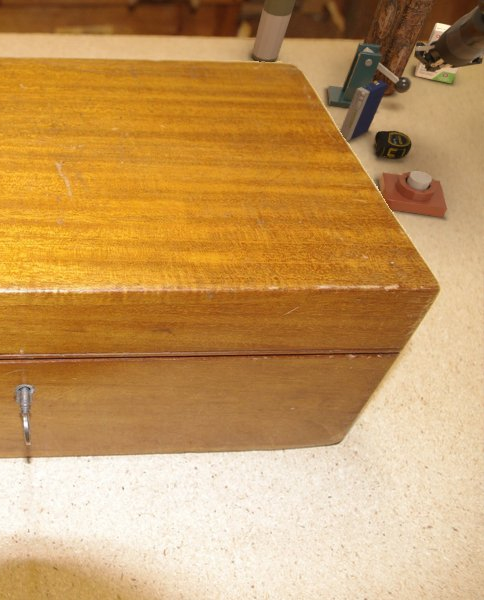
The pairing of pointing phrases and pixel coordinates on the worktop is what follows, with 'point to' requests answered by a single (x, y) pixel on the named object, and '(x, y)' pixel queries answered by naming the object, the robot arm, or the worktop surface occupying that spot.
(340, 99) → the bracket
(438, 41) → the robot arm
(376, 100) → the cassette player
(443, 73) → the white cardboard box
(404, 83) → the flush lever
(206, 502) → the worktop surface
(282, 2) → the bottle
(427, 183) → the flush button
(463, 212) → the worktop surface
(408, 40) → the tree bark piece
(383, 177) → the block
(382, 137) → the tape measure
